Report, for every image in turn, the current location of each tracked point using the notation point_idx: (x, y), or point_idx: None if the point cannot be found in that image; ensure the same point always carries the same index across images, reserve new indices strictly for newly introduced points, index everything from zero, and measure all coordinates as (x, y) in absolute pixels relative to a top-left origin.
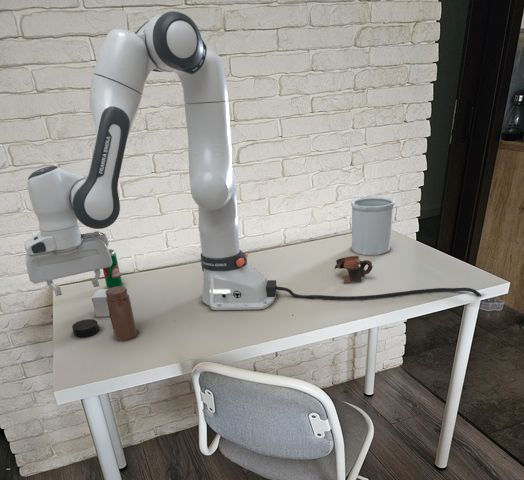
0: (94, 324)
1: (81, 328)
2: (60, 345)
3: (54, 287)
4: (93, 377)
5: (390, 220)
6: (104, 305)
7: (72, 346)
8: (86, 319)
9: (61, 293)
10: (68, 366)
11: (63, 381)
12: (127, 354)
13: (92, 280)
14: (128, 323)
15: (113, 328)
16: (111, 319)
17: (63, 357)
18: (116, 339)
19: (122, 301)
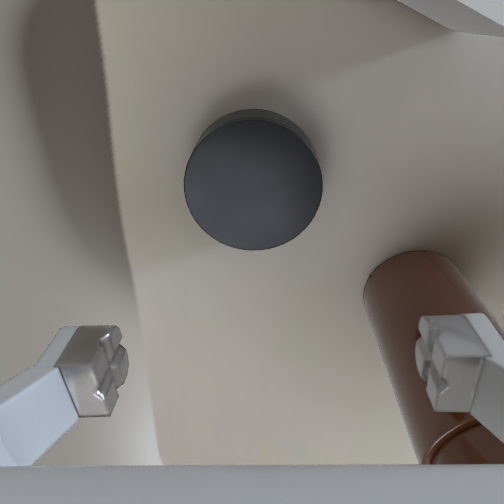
0: (303, 216)
1: (233, 231)
2: (134, 249)
3: (53, 443)
4: (249, 463)
5: None
6: (427, 1)
7: (187, 279)
8: (268, 123)
9: (124, 376)
10: (178, 395)
11: (169, 451)
12: (368, 406)
13: (444, 393)
14: None
15: (376, 338)
16: (389, 376)
17: (157, 341)
18: (365, 307)
19: None
